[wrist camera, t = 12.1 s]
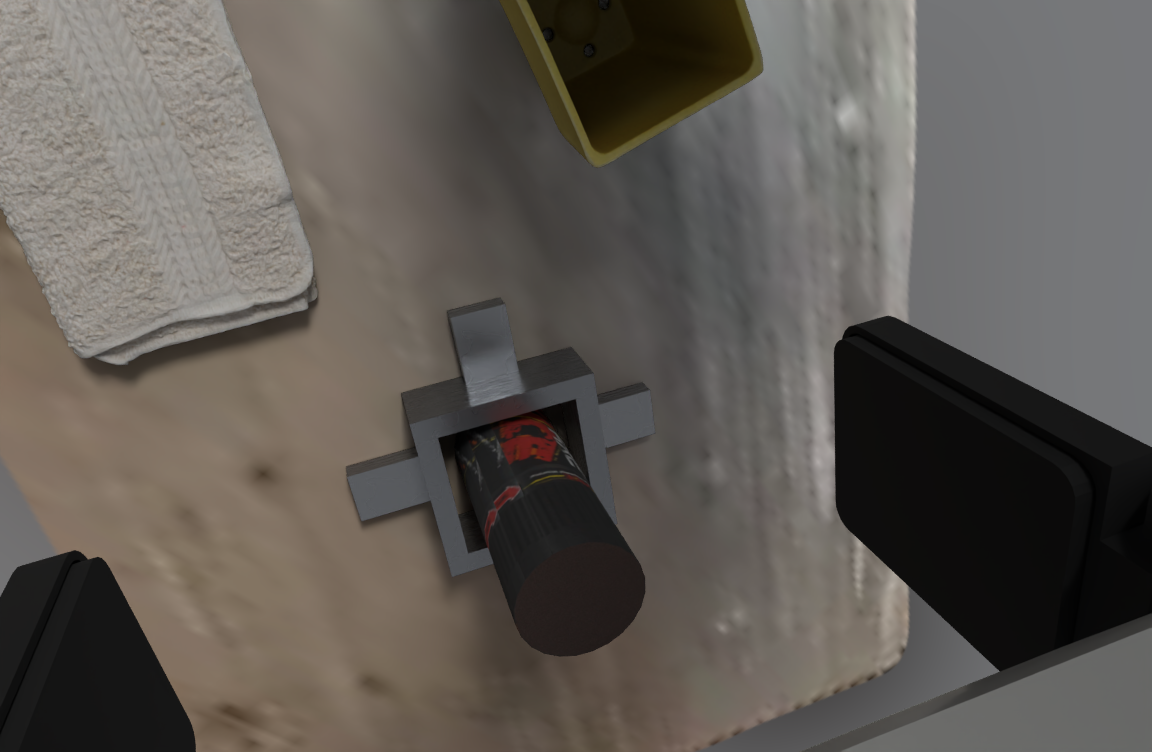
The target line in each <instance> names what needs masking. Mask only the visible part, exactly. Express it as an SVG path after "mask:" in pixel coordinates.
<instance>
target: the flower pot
mask: <svg viewBox="0 0 1152 752" xmlns="http://www.w3.org/2000/svg"><path fill="white" fill-rule="evenodd" d="M499 1H500V3H501V5H502V7H503V9H504V11H505V13H506V15H507V18H508V20H509V22H510V24H511V26H512V28H513V30H514V32H515V34H516V36H517V39H518V41H519V43H520V45H521V47H522V49H523V51H524V54H525V56H526V58H527V60H528V62H529V65H530V67H531V69H532V71H533V73H534V75H535V78H536V80H537V82H538V84H539V87H540V89H541V91H542V93H543V95H544V98H545V100H546V102H547V104H548V107H549V109H550V111H551V113H552V116H553V118H554V120H555V123H556V125H557V127H558V129H559V130H560V132H561V133H562V135H563V136H564V137H565V139H566V140H567V141H568V142H569V143H570V144H571V145H572V146H573V147H574V148H575V149H576V150H577V151H578V152H579V153H580V154H581V155H582V156H583V157H584V158H585V159H586V160H587V161H588V162H589V163H590V164H591V165H592V166H594V167H596V168H600V167H603V166H605V165H607V164H609V163H610V162H612V161H614V160H616V159H617V158H619V157H620V156H622V155H624V154H626V153H627V152H629V151H631V150H632V149H634V148H636V147H638V146H639V145H641V144H643V143H644V142H646V141H648V140H649V139H651V138H653V137H654V136H656V135H658V134H659V133H661V132H663V131H665V130H666V129H668V128H670V127H672V126H673V125H675V124H677V123H678V122H680V121H682V120H684V119H685V118H687V117H689V116H691V115H692V114H694V113H696V112H698V111H700V110H701V109H703V108H704V107H706V106H708V105H710V104H711V103H713V102H715V101H717V100H719V99H721V98H722V97H724V96H726V95H727V94H729V93H731V92H732V91H734V90H736V89H738V88H740V87H741V86H743V85H745V84H747V83H748V82H750V81H751V80H753V79H754V78H756V77H757V76H758V75H760V74H761V73H762V71H763V59H762V54H761V50H760V47H759V44H758V41H757V37H756V34H755V31H754V27H753V24H752V21H751V18H750V15H749V12H748V9H747V6H746V3H745V0H609V6H608V8H607V9H605V10H603V9H601V8H600V7H599V0H499ZM547 28H550V29H551V30H552V31H553V38H552V39H551V40H549V41H546V40H545V39H544V36H543V34H542V33H543V31H544V30H545V29H547ZM588 44H590V45H592V46H593V47H594V53H593V55H592V56H586V55H585V53H584V48H585V46H586V45H588Z"/></svg>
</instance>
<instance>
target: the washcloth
mask: <svg viewBox="0 0 1152 752" xmlns="http://www.w3.org/2000/svg"><path fill="white" fill-rule="evenodd" d="M0 208H1V209H2V210H3V211H4V215H6V216H7V221H6V223H7V224H8V226H9V228H10V229H11V230H12V231H13V233H14V235H15V237H16V238H17V239H18V241H19V242H20V244H21V245H22V247H23V250H24V253H25V255H26V257H27V262H28V264H29V265H30V266H31V267H32V271H33V272H34V273H35V275H36V276H37V278H38V282H40V285H42V286H43V291H42V292H43V294H44V295H45V296H46V298H47V300H48V302H49V304H50V306H51V313H52V315H54V316H55V317H56V319H57V323H58V324H59V327H60V328H61V329H63V332H64V335H65V337H66V339H67V341H68V347H72V348H73V350H74V353H76V354H78V355H79V357H80V358H90V357H92V356H93V357H95V358H96V359H98V360H101V361H105V362H108V363H111V364H115V365H128V364H129V363H128V362H129V361H132V360H134V359H135V358H137V357H138V356H140V355H142V354H144V353H148V352H151V351H153V350H156V349H159V348H163V347H166V346H170V345H173V344H179V343H181V342H187V341H190V340H194V339H197V338H201V337H204V336H208V335H213V334H216V333H220V332H224V331H227V330H230V329H234V328H238V327H242V326H247V325H251V324H254V323H257V322H262V321H265V320H267V319H272V318H275V317H278V316H282V315H286V314H290V313H293V312H298V311H304V310H306V309H308V302H311V301H313V300H315V299H316V298H317V296H318V290H317V288H316V286H315V285H316V279H315V277H314V276H313V254H312V251H311V248H310V244H309V241H308V239H307V236H306V233H305V231H304V227H303V225H302V223H301V219H300V216H299V212H298V210H297V207H296V204H295V202H294V199H293V195H292V189H291V187H290V184H289V180H288V178H287V175H286V171H285V168H284V165H283V161H282V159H281V155H280V153H279V150H278V148H277V145H276V142H275V139H274V137H273V135H272V133H271V129H270V127H269V124H268V122H267V120H266V117H265V114H264V112H263V110H262V107H261V104H260V102H259V99H258V96H257V93H256V90H255V87H254V84H253V80H252V76H251V74H250V71H249V69H248V67H247V65H246V62H245V60H244V57H243V54H242V51H241V48H240V46H239V44H238V42H237V39H236V37H235V35H234V33H233V29H232V25H231V21H230V19H229V16H228V14H227V11H226V9H225V7H224V2H223V0H0Z"/></svg>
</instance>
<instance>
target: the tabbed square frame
mask: <svg viewBox="0 0 1152 752" xmlns="http://www.w3.org/2000/svg"><path fill="white" fill-rule="evenodd" d="M447 313H448V318H449V322H450V326H451V330H452V334H453V339H454V343H455V347H456V351H457V355H458V360H459V364H460V368H461V372H462V377H459V378H455V379H451V380H448V381H444V382H440V383H436V384H433V385H429V386H425V387H422V388H418V389H414V390H410V391H407V392H403V393H401V395H402V399H403V402H404V406H405V410H406V413H407V417H408V421H409V424H410V428H411V431H412V435H413V439H414V442H415V446H416V447H413V448H410V449H406V450H403V451H399V452H396V453H392V454H389V455H385V456H382V457H378V458H375V459H371V460H367V461H364V462H360V463H357V464H353V465H350V466H346V472H347V479H348V482H349V485H350V488H351V491H352V494H353V497H354V500H355V503H356V506H357V509H358V512H359V515H360V518H361V521H364V520H367V519H371V518H374V517H378V516H381V515H384V514H388V513H391V512H394V511H398V510H401V509H404V508H408V507H411V506H414V505H418V504H421V503H424V502H428V501H431V503H432V507H433V510H434V514H435V518H436V521H437V525H438V528H439V532H440V535H441V539H442V543H443V546H444V550H445V553H446V557H447V561H448V564H449V568H450V571H451V575H452V577H454V576H457V575H460V574H463V573H466V572H469V571H472V570H475V569H478V568H482V567H485V566H488V565H491V564H494V563H493V560H492V558H491V555H490V552H489V549H488V547H487V544H486V541H485V538H484V535H483V533H482V530H481V527H480V524H479V521H478V519H477V516H476V513H475V510H473V511H470V512H466V513H463V514H460V515H458V513H457V509H456V505H455V501H454V497H453V494H452V490H451V486H450V482H449V478H448V475H447V471H446V467H445V463H444V459H443V456H442V452H441V448H440V444H439V440H438V438H439V437H443V436H446V435H450V434H454V433H457V432H461V431H464V430H468V429H471V428H475V427H478V426H482V425H485V424H489V423H492V422H496V421H499V420H503V419H506V418H510V417H513V416H517V415H521V414H524V413H528V412H531V411H535V410H538V409H542V408H545V407H549V406H552V405H556V404H559V403H561V405H562V411H563V416H564V422H565V427H566V433H567V438H568V444H569V449H570V454H571V455H572V457H573V459H574V460H575V462H576V463H577V465H578V467H579V468H580V470H581V471H582V473H583V474H584V476H585V478H586V479H587V481H588V482H589V484H590V486H591V487H592V489H593V490H594V492H595V494H596V495H597V497H598V498H599V500H600V501H601V503H602V505H603V506H604V508H605V509H606V511H607V513H608V514H609V516H610V517H611V519H612V520H613V522H614V524H617V519H616V512H615V506H614V500H613V493H612V487H611V480H610V474H609V468H608V461H607V455H606V449H605V448H608V447H611V446H615V445H618V444H621V443H625V442H628V441H631V440H635V439H638V438H641V437H645V436H648V435H651V434H655V427H654V419H653V411H652V403H651V395H650V390H649V389H648V388H647V387H646V386H645V384H644V383H643V382H642V383H638V384H635V385H631V386H628V387H624V388H621V389H617V390H614V391H610V392H607V393H603V394H600V395H597V392H596V385H595V379H594V373H593V372H592V371H591V370H590V368H589V367H588V366H587V365H586V364H585V362H584V361H583V360H582V359H581V358H580V356H579V355H578V354H577V353H576V352H575V351H574V349H573V348H572V347H570V348H566V349H563V350H559V351H555V352H552V353H548V354H544V355H540V356H537V357H533V358H529V359H526V360H522V361H518V362H517V360H516V355H515V350H514V345H513V340H512V335H511V330H510V326H509V321H508V316H507V311H506V306H505V303H504V302H503V300H502V299H501V298H496V299H492V300H488V301H484V302H480V303H476V304H472V305H468V306H464V307H460V308H456V309H452V310H448V311H447Z"/></svg>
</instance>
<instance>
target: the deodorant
mask: <svg viewBox="0 0 1152 752" xmlns="http://www.w3.org/2000/svg"><path fill="white" fill-rule="evenodd" d="M454 448H455V456H456V460H457V463H458V466H459V469H460V471H461V474H462V477H463V480H464V483H465V485H466V488H467V491H468V494H469V496H470V499H471V502H472V505H473V508H474V510H475V513H476V516H477V519H478V521H479V524H480V527H481V530H482V533H483V535H484V538H485V541H486V544H487V547H488V549H489V552H490V555H491V558H492V560H493V563H494V566H495V569H496V572H497V574H498V577H499V580H500V583H501V585H502V588H503V591H504V594H505V597H506V599H507V602H508V605H509V608H510V611H511V613H512V616H513V619H514V622H515V624H516V627H517V629H518V631H519V633H520V635H521V637H522V638H523V639H524V640H525V641H526V642H527V643H528V644H529V645H530V646H531V647H532V648H534V649H536V650H538V651H540V652H542V653H544V654H549V655H554V656H577V655H580V654H584V653H588V652H591V651H594V650H596V649H598V648H600V647H602V646H604V645H606V644H608V643H610V642H611V641H612V640H614V639H615V638H616V637H618V636H619V635H620V634H622V633H623V632H624V630H625V629H626V628H627V627H628V626H629V625H630V624H631V623H632V621H633V620H634V619H635V617H636V615H637V613H638V611H639V610H640V608H641V606H642V602H643V598H644V595H645V576H644V573H643V571H642V568H641V565H640V563H639V562H638V560H637V559H636V557H635V555H634V554H633V552H632V551H631V549H630V547H629V546H628V544H627V543H626V541H625V539H624V538H623V536H622V535H621V533H620V532H619V530H618V528H617V527H616V525H615V524H614V522H613V520H612V519H611V517H610V516H609V514H608V513H607V511H606V509H605V508H604V506H603V505H602V503H601V501H600V500H599V498H598V497H597V495H596V494H595V492H594V490H593V489H592V487H591V486H590V484H589V482H588V481H587V479H586V478H585V476H584V474H583V473H582V471H581V470H580V468H579V467H578V465H577V463H576V462H575V460H574V459H573V457H572V455H571V454H570V452H569V451H568V449H567V448H566V446H565V444H564V443H563V441H562V440H561V438H560V436H559V435H558V433H557V432H556V430H555V429H554V427H553V425H552V424H551V422H550V421H549V419H548V417H547V416H546V415H545V414H544V412H543V411H542V410H541V409H538V410H535V411H531V412H528V413H524V414H521V415H517V416H513V417H510V418H506V419H503V420H499V421H496V422H492V423H489V424H485V425H482V426H478V427H475V428H471V429H468V430H464V431H461V432H457V434H456V439H455V445H454Z"/></svg>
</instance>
